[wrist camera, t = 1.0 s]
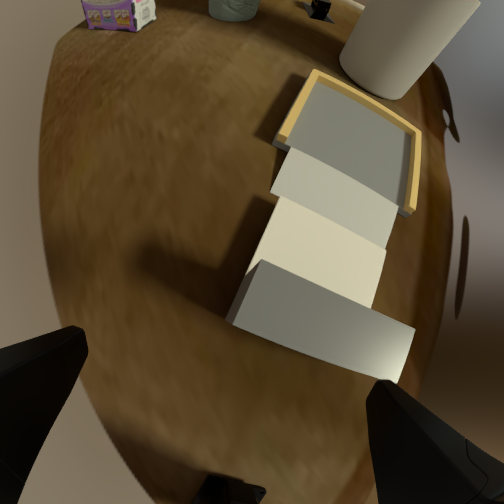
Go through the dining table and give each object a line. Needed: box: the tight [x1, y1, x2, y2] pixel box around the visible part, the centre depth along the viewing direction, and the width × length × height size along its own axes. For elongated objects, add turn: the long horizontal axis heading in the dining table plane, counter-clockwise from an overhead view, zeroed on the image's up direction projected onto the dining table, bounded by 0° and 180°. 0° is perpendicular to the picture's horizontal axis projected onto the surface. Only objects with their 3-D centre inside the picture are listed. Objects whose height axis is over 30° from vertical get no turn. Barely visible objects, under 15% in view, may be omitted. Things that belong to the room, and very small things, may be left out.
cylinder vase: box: [339, 0, 481, 100], centre depth 23 cm, size 12×12×25 cm
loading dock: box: [270, 69, 421, 250], centre depth 29 cm, size 20×18×3 cm
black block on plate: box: [302, 0, 335, 24], centre depth 37 cm, size 12×7×5 cm, turn 2°
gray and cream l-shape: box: [225, 196, 415, 383], centre depth 21 cm, size 12×12×10 cm
